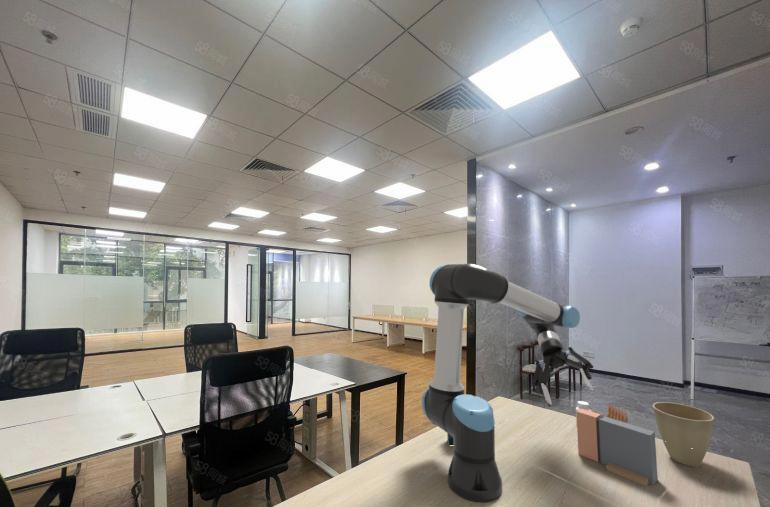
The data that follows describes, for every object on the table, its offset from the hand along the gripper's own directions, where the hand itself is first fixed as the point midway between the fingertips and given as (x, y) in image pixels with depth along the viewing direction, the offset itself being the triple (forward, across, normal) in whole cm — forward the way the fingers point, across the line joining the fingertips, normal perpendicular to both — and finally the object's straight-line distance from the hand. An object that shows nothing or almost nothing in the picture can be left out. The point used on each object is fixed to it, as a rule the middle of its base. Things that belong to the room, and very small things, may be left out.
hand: (569, 395), depth 104 cm
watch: (+6, +43, +2) cm, 43 cm away
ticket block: (+11, -1, -25) cm, 27 cm away
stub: (+5, +7, -24) cm, 25 cm away
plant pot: (+3, -15, -43) cm, 46 cm away
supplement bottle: (-13, +10, -38) cm, 41 cm away
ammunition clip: (-6, 0, -39) cm, 39 cm away
